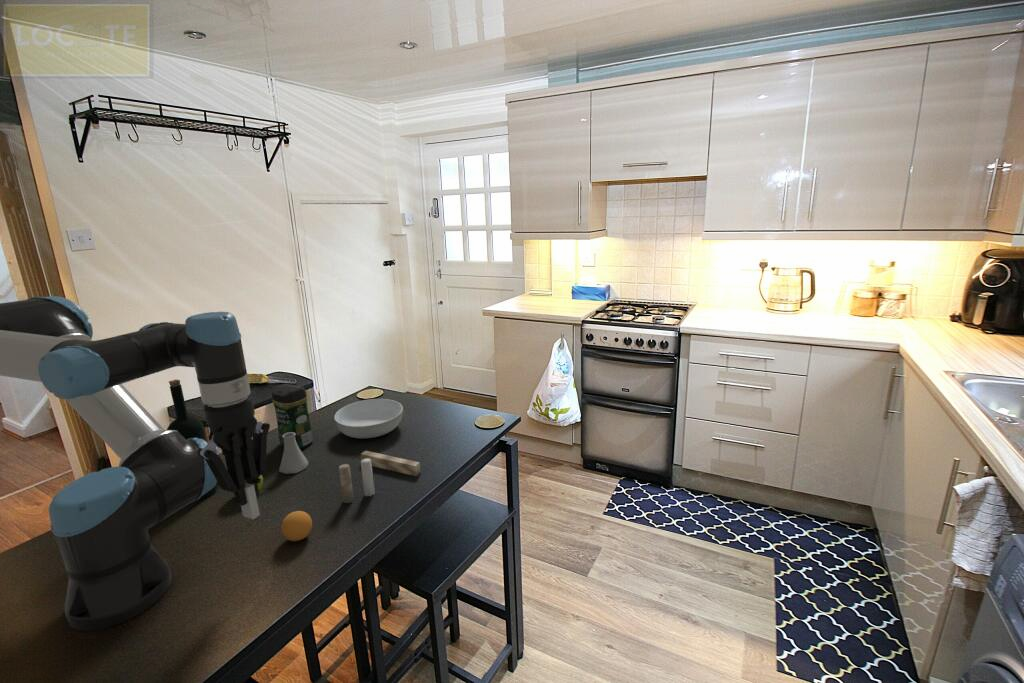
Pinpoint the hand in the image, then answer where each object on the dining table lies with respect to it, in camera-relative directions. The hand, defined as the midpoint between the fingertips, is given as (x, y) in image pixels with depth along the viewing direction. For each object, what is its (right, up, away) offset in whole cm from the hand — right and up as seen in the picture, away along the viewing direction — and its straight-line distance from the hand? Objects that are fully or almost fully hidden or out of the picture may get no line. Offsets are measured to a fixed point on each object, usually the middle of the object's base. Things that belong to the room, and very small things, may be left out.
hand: (251, 515), depth 92 cm
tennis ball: (-16, -5, +28) cm, 33 cm away
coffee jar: (-16, +2, +55) cm, 57 cm away
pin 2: (+14, -4, +27) cm, 31 cm away
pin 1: (+10, -5, +25) cm, 27 cm away
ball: (+4, -6, +11) cm, 13 cm away
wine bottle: (-29, -6, +29) cm, 41 cm away
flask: (-10, -2, +41) cm, 42 cm away
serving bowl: (+5, +4, +62) cm, 62 cm away
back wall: (+17, -1, +39) cm, 42 cm away
